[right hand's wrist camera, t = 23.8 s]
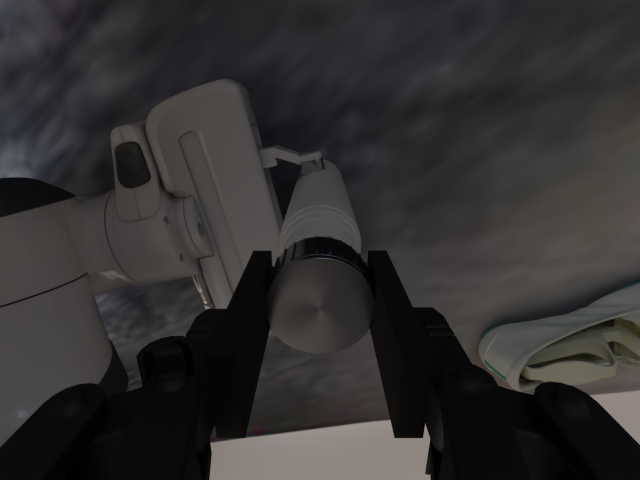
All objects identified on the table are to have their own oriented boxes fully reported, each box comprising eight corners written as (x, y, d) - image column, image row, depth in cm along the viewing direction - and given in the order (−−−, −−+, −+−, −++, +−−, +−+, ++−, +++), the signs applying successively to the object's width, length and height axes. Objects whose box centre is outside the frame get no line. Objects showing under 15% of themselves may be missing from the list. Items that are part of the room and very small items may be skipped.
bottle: (350, 174, 34) (400, 280, 13) (327, 211, 36) (338, 362, 14) (311, 150, 34) (298, 223, 12) (289, 189, 35) (242, 316, 14)
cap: (388, 290, 15) (399, 319, 13) (310, 338, 16) (308, 373, 14) (331, 215, 14) (333, 233, 12) (250, 271, 15) (239, 297, 13)
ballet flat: (691, 322, 40) (774, 370, 33) (479, 375, 43) (512, 430, 36) (694, 258, 37) (786, 295, 30) (467, 320, 40) (500, 368, 33)
